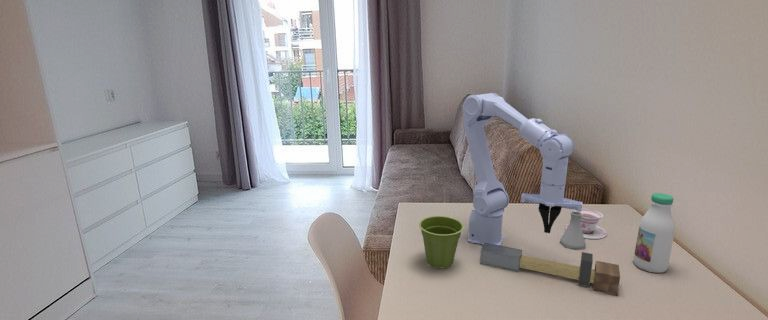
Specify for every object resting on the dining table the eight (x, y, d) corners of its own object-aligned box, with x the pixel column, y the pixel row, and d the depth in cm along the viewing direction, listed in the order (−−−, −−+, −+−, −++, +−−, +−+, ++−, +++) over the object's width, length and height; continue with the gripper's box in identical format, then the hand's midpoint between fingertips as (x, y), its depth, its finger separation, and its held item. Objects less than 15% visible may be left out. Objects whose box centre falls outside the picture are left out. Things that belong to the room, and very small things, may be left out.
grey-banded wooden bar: (514, 270, 107) (516, 247, 105) (517, 262, 111) (519, 240, 109) (602, 289, 98) (606, 264, 97) (602, 280, 102) (606, 256, 100)
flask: (589, 251, 118) (593, 218, 115) (562, 248, 119) (566, 216, 116) (582, 239, 125) (586, 209, 122) (556, 237, 126) (560, 207, 123)
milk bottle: (662, 261, 112) (675, 192, 106) (671, 276, 105) (685, 202, 99) (630, 257, 114) (641, 189, 109) (636, 271, 107) (649, 199, 102)
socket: (593, 290, 99) (596, 272, 97) (593, 278, 104) (595, 260, 103) (617, 295, 97) (620, 277, 95) (615, 283, 102) (618, 264, 100)
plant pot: (413, 269, 109) (413, 230, 106) (424, 249, 119) (425, 213, 116) (457, 277, 105) (459, 237, 102) (465, 256, 115) (467, 219, 112)
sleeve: (479, 264, 111) (480, 249, 110) (483, 256, 115) (484, 242, 114) (518, 272, 107) (519, 257, 106) (520, 264, 111) (522, 249, 109)
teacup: (608, 229, 132) (611, 211, 130) (604, 243, 122) (607, 224, 121) (568, 220, 138) (570, 203, 137) (561, 234, 129) (563, 215, 127)
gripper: (520, 182, 104) (516, 231, 108) (584, 191, 98) (577, 243, 101) (525, 175, 110) (520, 221, 114) (585, 182, 104) (578, 232, 107)
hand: (547, 231), depth 108 cm, fingers closed
